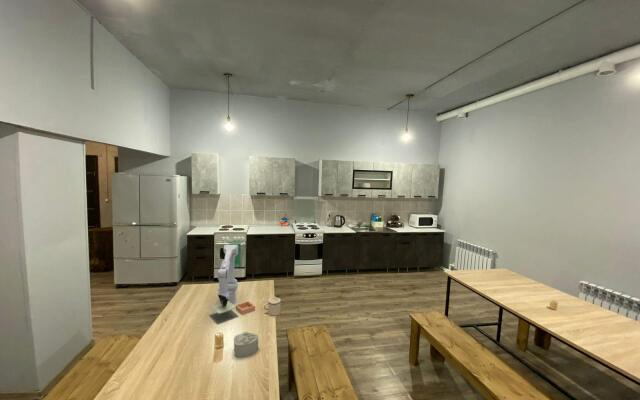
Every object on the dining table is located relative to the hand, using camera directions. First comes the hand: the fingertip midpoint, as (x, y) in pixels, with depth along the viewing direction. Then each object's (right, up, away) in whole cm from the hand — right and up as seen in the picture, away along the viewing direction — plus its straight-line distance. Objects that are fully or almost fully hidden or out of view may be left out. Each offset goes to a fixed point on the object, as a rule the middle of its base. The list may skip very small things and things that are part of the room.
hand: (223, 305), depth 185 cm
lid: (0, -2, 0) cm, 2 cm away
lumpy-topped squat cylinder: (+24, -13, -33) cm, 43 cm away
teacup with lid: (+32, -9, +7) cm, 34 cm away
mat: (0, -8, +1) cm, 8 cm away
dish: (+12, -8, +10) cm, 17 cm away
